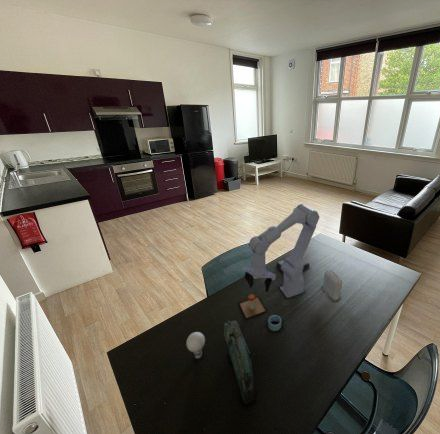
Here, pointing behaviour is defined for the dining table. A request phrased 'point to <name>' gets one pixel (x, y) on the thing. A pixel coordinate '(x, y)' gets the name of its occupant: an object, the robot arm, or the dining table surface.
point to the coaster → (252, 312)
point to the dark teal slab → (240, 359)
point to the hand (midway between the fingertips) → (259, 288)
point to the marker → (251, 301)
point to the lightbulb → (196, 343)
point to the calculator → (305, 263)
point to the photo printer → (332, 284)
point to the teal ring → (274, 318)
